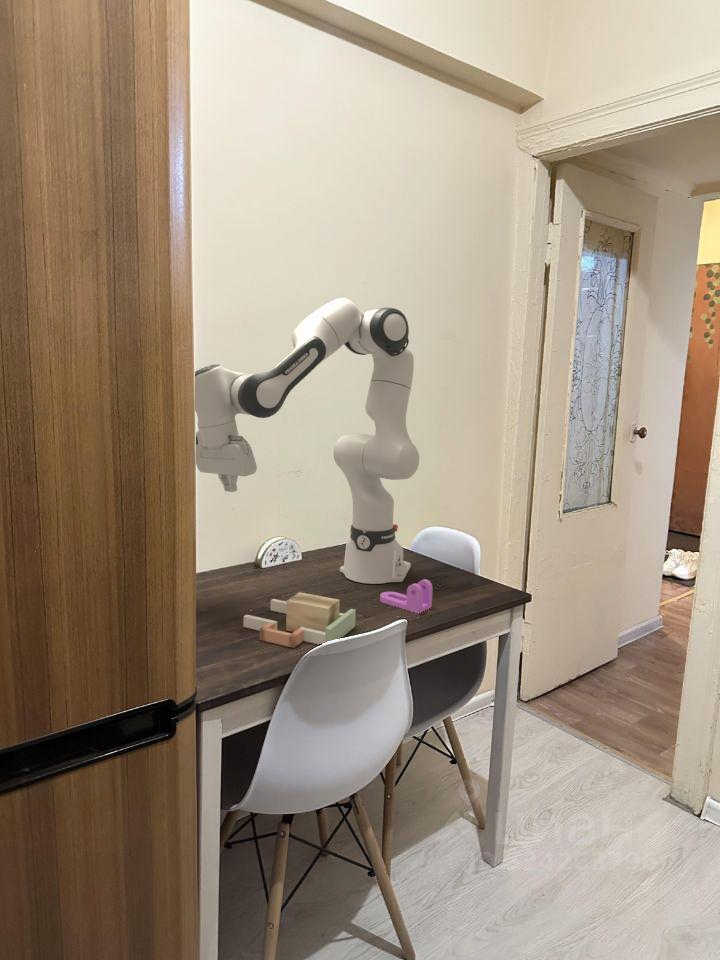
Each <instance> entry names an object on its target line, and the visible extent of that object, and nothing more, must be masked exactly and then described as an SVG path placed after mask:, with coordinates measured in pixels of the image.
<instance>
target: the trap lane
mask: <svg viewBox="0 0 720 960" xmlns="http://www.w3.org/2000/svg"><path fill="white" fill-rule="evenodd" d="M270 611H271V612H277V613H280V614H285V615H286V613H287V600H280V599H277V598H276V599H275V598H272V599H271V600H270ZM356 611H357V610H356V609H353V608H350V609H349V610H347V611H346V612H345V613H343V612H339V618H338V619H337V620H335V621H334V622H333V623H331V624H330V625H329V626H328V627H326V628H325V632H322V631H318V630H313V629H309V628H304V627H300V628H299V629H298V630H296V631H295V632H292V633H291V632H287V631H282V630H278V621H277V620H272V619H268V618H264V617H259V616H256V615H250V614H245V615H243V628H247V629H251V630H256V631H258V632H259V641H262V642H267V643H272V644H275V645H279V646H284V647H289V648H291V647H292V648H293V649H295V648H296V647H297V646H298V645H300V644H302V642H306V643H310V644H315V645H319V644H321V643H324V642H327V641H330V640H333V639H337V638H340V637H342V638H344V637H345V636H346V635H347V634H348V633H349V632H350V631H351V630H353V629H355V627H356V616H357V615H356V614H357V612H356ZM319 646H320V645H319Z"/></svg>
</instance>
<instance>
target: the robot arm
mask: <svg viewBox="0 0 720 960" xmlns="http://www.w3.org/2000/svg"><path fill="white" fill-rule="evenodd" d="M406 317H407V316H405V314H404V313H403V312H402V311H401V310H399V309H396V308H394V307H382V308H379V309H378V308H377V309H373V310H372V309H371V310H367V311H365V312H362V311H360V309H359V308H358V306H357V305H356V304H355V302H353V301H352V300H351V299H348V298H346V297H339V298H336V299H334V300H331V301H330V302H328V303H326V304H324V305H323V306H321V307H319V308H318V309H316V310H314V311H313V312H312V313H310V314H309V315H308V316H307V317H305V318H304V319H302V321H301V322H300V323H299V324H297V327H295V329H294V330H293V332H292V335H291V336H292V337H291V341H292V342H291V343H292V345H293V346H292V347H293V350H292V351H291V352H290V353H289V354H288V355H287V356H285V357H284V358H283V360H281V361H280V362H278V364H277V365H276V366H274V367H273V368H271V369H270V370H268V371H265V372H259V373H244V372H238V371H233V370H231V369H229V368H226V367H224V366H222V365H221V364H210V365H208V366H204V367H202V368H199V369H198V370H196V371H194V372H195V410H194V412H195V413H196V416H197V428H198V431H196V432H195V433H196V462H195V465H196V468H197V469H198V471H199V472H200V473H203V474H204V473H205V474H214V475H215V474H217V477H218V479H219V481H220V482H221V484H222V485H223V490H224V491H225V492H228V493H235V492H237V491H238V485H237V482H238V477H248V476H252V475H253V474H255V473H257V469H258V467H257V463H256V459H255V456H254V451H253V450H252V447H251V445H250V443H248V440H246V439H245V438H244V436H242V435H239V431H238V426H237V420H236V416H237V415H239V414H242V415H247V416H253V417H255V418H258V419H259V418H260V419H265V418H270V417H272V416H274V415H275V414H277V413H278V412H279V411H280V410H281V408H282V407H283V405H284V403H285V401H286V399H287V397H288V396H289V394H290V393H291V392H292V390H293V389H294V388H295V387H296V386H297V385H298V384H299V383H301V382H302V380H304V379H305V378H306V377H307V376H308V375H309V374H310V373H312V371H313V370H314V369H315V368H316V367H317V366H318V365H320V364H321V363H322V362H323V361H325V360H326V359H328V358H329V357H331V356H332V355H333V354H334V353H337V351H338V350H340V348H342V347H343V346H345V348H347V349H348V350H349V351H350V352H351V353H353V354H356V355H359V356H360V355H361V356H365V355H371V356H372V360H373V371H372V375H371V378H370V382H369V388H368V391H367V395H366V401H365V406H364V408H365V412H366V414H367V415H368V417H369V418H370V419H371V420H372V421H373V422H374V426H375V433H374V435H373V434H367V433H350V434H344V435H342V436H339V438H338V439H337V440H336V443H335V444H334V447H333V459H334V461H335V464H336V466H337V467H338V468H339V469H340V470H341V472H343V474H344V476H345V478H346V481H347V483H348V485H349V488H350V492H351V500H352V524H351V525H350V532H349V534H350V537H349V538H350V540H349V541H348V542H347V543H346V544H345V552H344V553H345V554H344V561H343V562H344V563H343V565H341V566H340V567H339V572H340V573H343V574H344V576H345V577H346V578H347V579H349V580H351V581H353V582H356V583H361V584H370V585H372V584H373V585H374V584H375V585H377V584H386V583H402V582H403V581H405V580H404V579H406V576H407V574H408V573H409V571H410V569H411V567H412V563H410V562H408V561H406V560H404V547H402V546H401V544H399V542H398V541H397V540H396V533H397V531H398V529H399V525H398V524H394V510H395V509H394V506H395V500H394V498H393V496H392V495H391V493H390V492H388V491H387V490H386V488H385V487H384V485H383V483H382V481H381V479H386V480H389V481H395V480H396V481H397V480H401V481H402V480H407V479H411V478H412V477H413V476H414V475H415V473H416V472H417V470H418V468H419V465H420V454H419V450H418V447H417V446H416V445H415V444H414V443H413V441H412V440H411V438H410V435H409V432H408V427H407V412H408V407H409V405H408V404H409V399H410V396H411V395H410V394H411V390H412V384H413V378H414V365H415V363H414V362H415V359H414V354H413V353H412V351H411V350H410V349H409V348H407V347H408V346H409V343H410V342H409V341H410V340H409V335H410V332H409V331H410V330H409V324H408V323H409V322H408V319H407V318H406Z"/></svg>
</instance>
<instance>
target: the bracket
mask: <svg viewBox="0 0 720 960" xmlns="http://www.w3.org/2000/svg"><path fill="white" fill-rule="evenodd" d="M433 587H434V586H433V584H432V582H431V581H430V580H429V579H427V578H426V579H425V578H424V579H422V580H419V581H418V582H417V583H412V584H410V585H408V587H407V588H406V594H403V593H399V592H397V591H384V592H381V593H380V596H379V600H380V602H381V603H383V604H385V603H386V605H389V606H392V607H395V606H396V608H398V607H399V608H398V609H401V608H402V610H404V609H405V610H404V611H407V610H409V611H408V612H410V611H411V613H413V612H415V613H414V614H417V613H418V614H417V615H420V614H422V613H424V612H426V611H428V610H430V609H432V608H431V607H433ZM429 608H430V609H429ZM427 609H428V610H427ZM425 610H426V611H425ZM423 611H424V612H423ZM421 612H422V613H421ZM419 613H420V614H419Z"/></svg>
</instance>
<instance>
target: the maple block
mask: <svg viewBox="0 0 720 960" xmlns="http://www.w3.org/2000/svg"><path fill="white" fill-rule="evenodd" d="M286 602H287V613H286V614H285V615H286V618H285V619H286V622H285V623H286V624H285V625H286V629H285V630H286V632H287V631H288V632H292V633H293V632H295V631H296V630H298V629H299V628H300V627H304V628H309V629H313V630H318V631H322V632H325V628H326V627H328V626H329V625H330V624H331V623H333V622H334V621H335V620H337V619H338V618H339V613H340V599H337V598H331V597H327V596H321V595H317V594H310V593H305V592H301V591H299V592H298V593H296V594H295V595H293V596H292V597H290V598H289V599H287V600H286Z"/></svg>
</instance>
